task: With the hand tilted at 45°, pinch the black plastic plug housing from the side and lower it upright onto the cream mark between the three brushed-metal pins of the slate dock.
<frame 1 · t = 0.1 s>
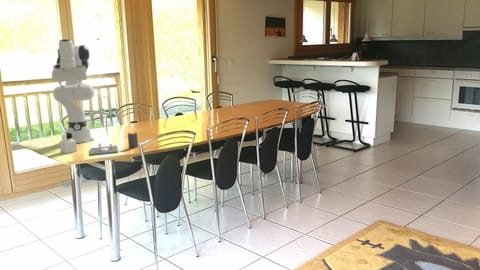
hand: (70, 88, 266), 39 cm above the table, tool pointing down, fingers open, 8 cm apart
medicine bottle: (68, 152, 266), on the table
plug housing: (133, 147, 272), on the table
pin dock: (104, 151, 265), on the table
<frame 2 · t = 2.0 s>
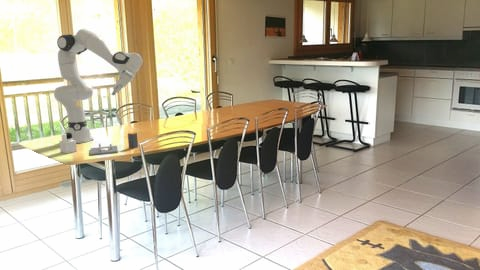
hand: (114, 93, 263), 35 cm above the table, tool tilted 40°, fingers open, 8 cm apart
nothing on the table moved.
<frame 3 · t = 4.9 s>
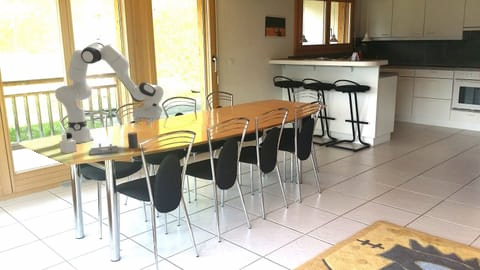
hand: (141, 124, 278), 13 cm above the table, tool tilted 45°, fingers open, 8 cm apart
nothing on the table moved.
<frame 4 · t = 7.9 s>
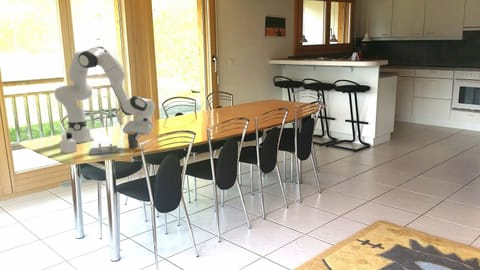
hand: (132, 139, 270), 5 cm above the table, tool tilted 45°, fingers closed on plug housing, 4 cm apart
plug housing: (133, 147, 272), on the table, touching gripper
everything else where it was.
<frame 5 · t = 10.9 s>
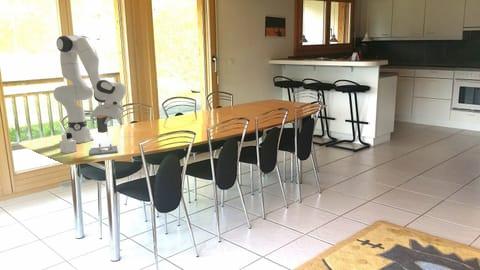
hand: (101, 123, 261), 18 cm above the table, tool tilted 45°, fingers closed on plug housing, 4 cm apart
plug housing: (102, 131, 263), point 12 cm above the table, touching gripper
everything else where it was.
when the fingers open (8 cm above the table, at t = 14.1 s): plug housing drops 1 cm, resting on pin dock.
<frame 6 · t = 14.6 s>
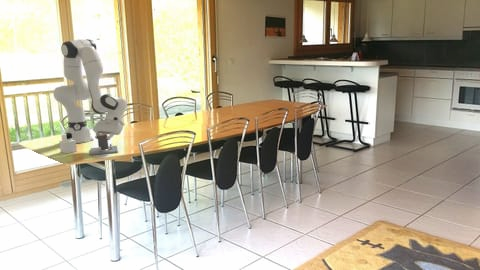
hand: (102, 139, 263), 8 cm above the table, tool tilted 45°, fingers open, 8 cm apart
plug housing: (103, 149, 265), point 1 cm above the table, touching pin dock
everything else where it was.
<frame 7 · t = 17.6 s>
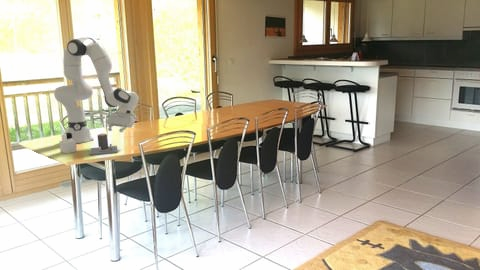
hand: (114, 131, 274), 10 cm above the table, tool tilted 45°, fingers open, 8 cm apart
nothing on the table moved.
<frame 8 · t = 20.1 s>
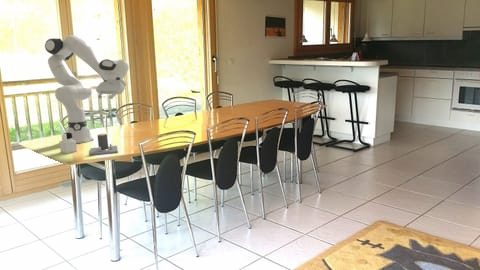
hand: (104, 98, 271), 31 cm above the table, tool tilted 45°, fingers open, 8 cm apart
nothing on the table moved.
at the end: plug housing 0.1 cm from the pin dock (horizontally); plug housing tilted 0°; the gripper is holding nothing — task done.
